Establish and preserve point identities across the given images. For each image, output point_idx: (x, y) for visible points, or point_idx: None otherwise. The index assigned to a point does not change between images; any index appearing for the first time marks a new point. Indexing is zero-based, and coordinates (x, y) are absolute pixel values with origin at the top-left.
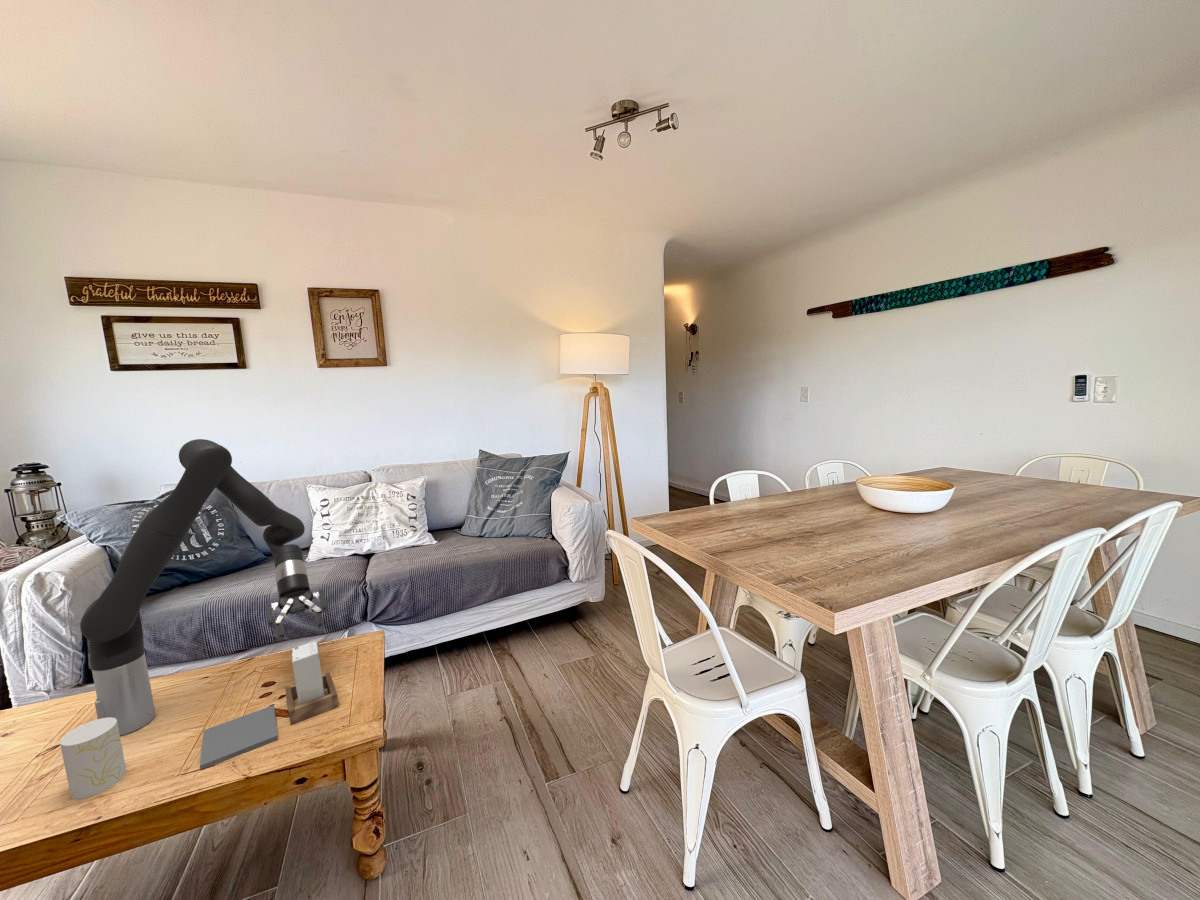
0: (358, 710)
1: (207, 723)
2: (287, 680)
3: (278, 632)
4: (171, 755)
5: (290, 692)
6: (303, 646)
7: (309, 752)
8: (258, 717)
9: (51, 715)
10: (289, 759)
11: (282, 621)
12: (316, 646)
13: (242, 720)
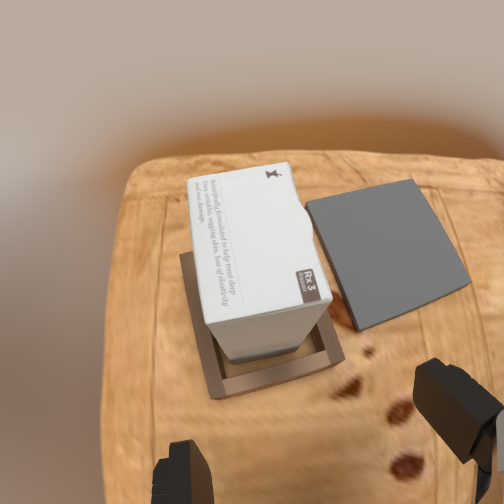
0: (146, 238)
1: (479, 323)
2: (359, 473)
3: (461, 376)
4: (481, 242)
5: (318, 320)
6: (270, 284)
7: (234, 157)
8: (378, 285)
9: None
10: (265, 153)
11: (478, 483)
12: (197, 252)
13: (411, 287)
